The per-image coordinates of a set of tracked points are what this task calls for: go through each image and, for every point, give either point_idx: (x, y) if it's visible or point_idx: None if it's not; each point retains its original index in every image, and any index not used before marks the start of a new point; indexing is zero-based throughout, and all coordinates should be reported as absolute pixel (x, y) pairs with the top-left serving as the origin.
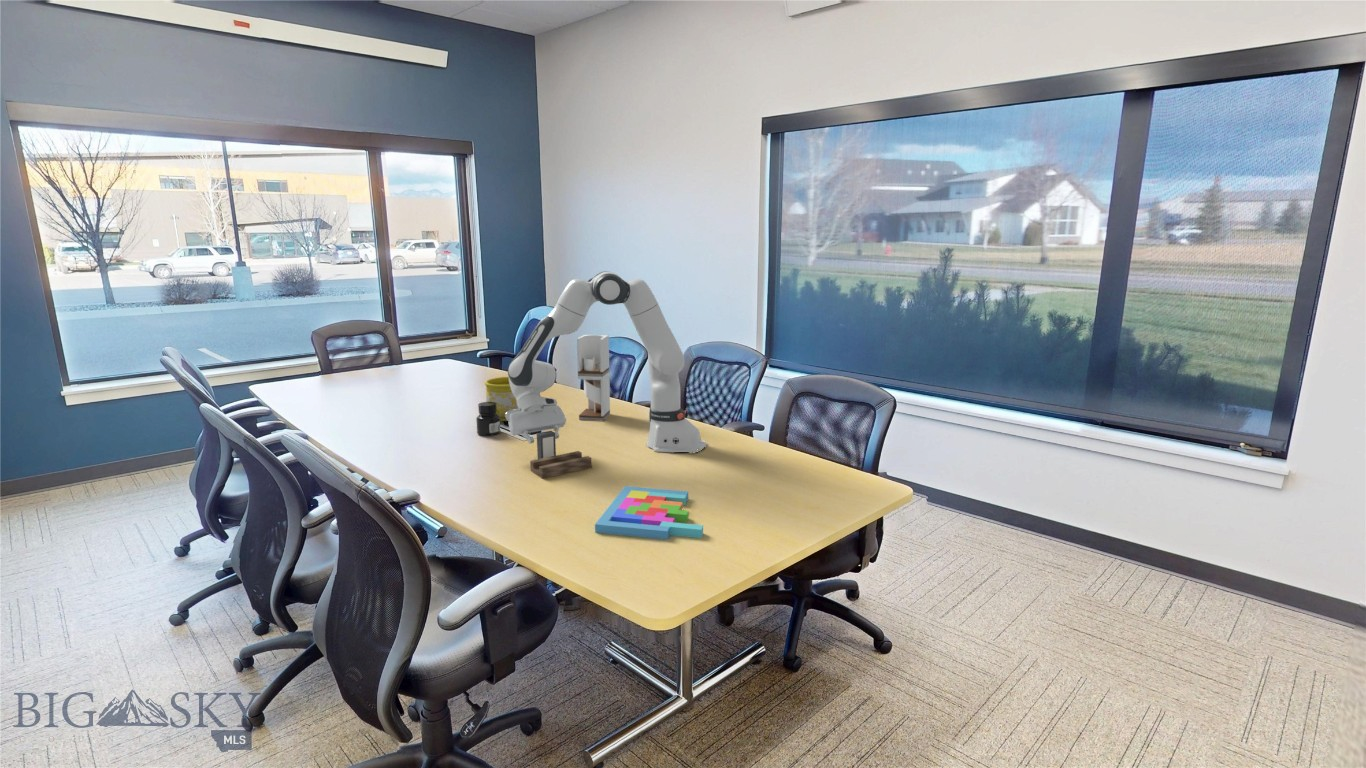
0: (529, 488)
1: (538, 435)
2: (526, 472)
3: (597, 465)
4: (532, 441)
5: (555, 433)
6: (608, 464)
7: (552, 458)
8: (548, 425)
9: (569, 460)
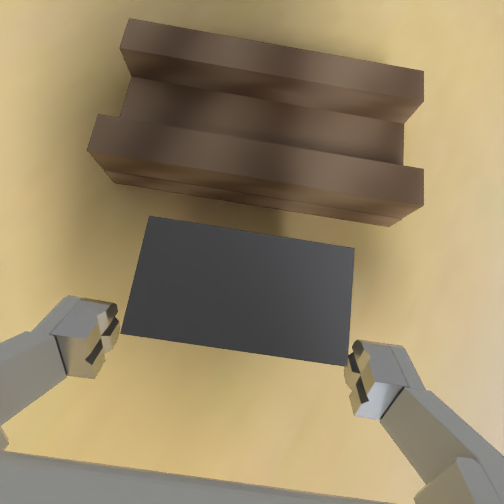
0: (479, 68)
1: (344, 308)
2: (414, 223)
3: (105, 71)
4: (376, 342)
5: (79, 326)
6: (59, 47)
7: (299, 149)
8: (59, 458)
9: (246, 63)
